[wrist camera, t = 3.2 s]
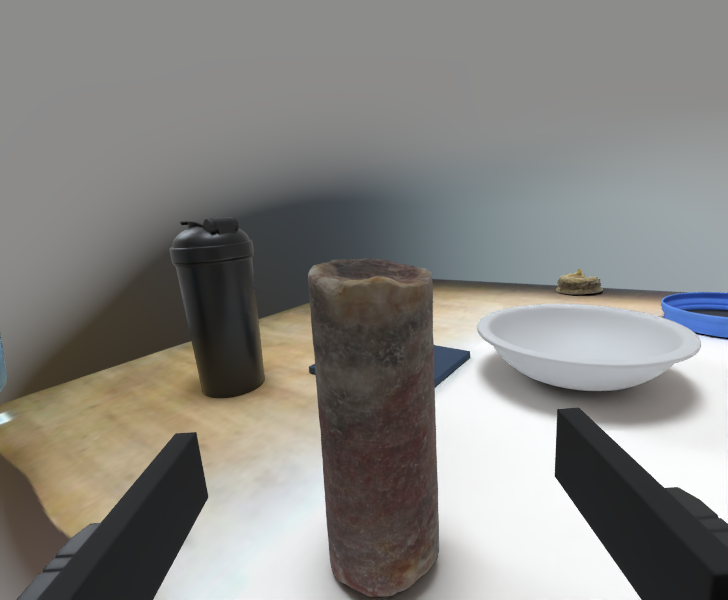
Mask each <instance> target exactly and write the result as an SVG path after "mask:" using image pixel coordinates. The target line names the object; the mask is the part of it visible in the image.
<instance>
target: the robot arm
mask: <svg viewBox="0 0 728 600" xmlns="http://www.w3.org/2000/svg"><path fill="white" fill-rule="evenodd" d="M6 382H7V375H6V367H5V360H4V354H3V348H2V343H1V335H0V391H1V390H2V389H3V388H4V387H5V385H6ZM555 477H556V479H557V480H558V481H559V483H560V484H561V486H562V487H563V488H564V490H565V491H566V493H567V494H568V496H569V497H570V498H571V500H572V501H573V503H574V504H575V506H576V507H577V508H578V510H579V511H580V513H581V514H582V515H583V517H584V518H585V520H586V521H587V523H588V524H589V525H590V527H591V528H592V530H593V531H594V533H595V534H596V535H597V537H598V538H599V540H600V541H601V542H602V544H603V545H604V547H605V548H606V550H607V551H608V552H609V554H610V555H611V557H612V558H613V560H614V561H615V562H616V564H617V565H618V567H619V568H620V570H621V571H622V572H623V574H624V575H625V577H626V578H627V579H628V581H629V582H630V584H631V585H632V587H633V588H634V589H635V591H636V592H637V594H638V595H639V597H640V598H641V599H642V600H728V524H727V523H726V522H725V521H724V520H722V519H721V518H720V519H719V518H718V515H717V514H716V513H714V512H713V511H712V510H711V509H710V508H709V507H708V506H706V505H705V504H704V503H703V502H702V501H701V500H699V499H698V498H696V497H694V496H692V495H691V494H689V493H687V492H685V491H683V490H682V489H680V488H678V487H674V488H664V487H663V486H662V485H660V484H659V483H658V482H657V481H656V480H655V479H654V478H653V477H652V476H651V475H650V474H649V473H648V472H647V471H646V470H645V469H643V468H642V467H641V466H640V465H639V464H638V463H637V462H636V461H635V460H634V459H633V458H632V457H631V456H630V455H629V454H628V453H626V452H625V451H624V450H623V449H622V448H621V447H620V446H619V445H618V444H617V443H616V442H615V441H614V440H613V439H612V438H611V437H609V436H608V435H607V434H606V433H605V432H604V431H603V430H602V429H601V428H600V427H599V426H598V425H597V424H596V423H595V422H594V421H592V420H591V419H590V418H589V417H588V416H587V415H586V414H585V413H584V412H583V411H582V410H581V409H580V408H568V409H557V434H556V458H555ZM207 499H208V493H207V487H206V482H205V477H204V471H203V466H202V461H201V455H200V450H199V445H198V439H197V434H196V432H194V433H178V434H175V435H174V436H173V437H172V439H171V440H170V441H169V442H168V443H167V444H166V446H165V447H164V448H163V449H162V450H161V452H160V453H159V454H158V455H157V456H156V458H155V459H154V460H153V461H152V462H151V464H150V465H149V466H148V467H147V468H146V470H145V471H144V472H143V473H142V474H141V476H140V477H139V478H138V479H137V480H136V482H135V483H134V484H133V485H132V486H131V488H130V489H129V490H128V491H127V492H126V493H125V495H124V496H123V497H122V498H121V499H120V501H119V502H118V503H117V504H116V505H115V507H114V508H113V509H112V510H111V511H110V513H109V514H108V515H107V516H106V517H105V519H104V520H103V521H102V522H101V523H94V524H89V525H88V526H87V527H85V528H84V529H83V530H81V531H80V532H79V533H77V534H76V535H75V536H73V537H72V538H71V539H70V540H69V541H68V542H67V543H66V544H65V546H64V547H63V548H62V549H61V550H60V551H59V552H58V553H57V555H56V557H55V559H52V560H51V561H50V562H49V564H48V565H47V566H46V567H45V568H44V570H43V572H42V573H40V574H39V575H38V576H37V577H36V578H35V579H34V580H33V582H32V583H31V584H30V585H29V586H28V587H27V588H26V589H25V591H24V592H23V593H22V594H21V595H20V596H19V597H18V598H17V600H153V599H154V597H155V595H156V593H157V591H158V589H159V587H160V586H161V584H162V582H163V580H164V578H165V576H166V575H167V573H168V571H169V569H170V567H171V565H172V563H173V562H174V560H175V558H176V556H177V554H178V552H179V550H180V549H181V547H182V545H183V543H184V541H185V539H186V538H187V536H188V534H189V532H190V530H191V528H192V526H193V525H194V523H195V521H196V519H197V517H198V515H199V513H200V512H201V510H202V508H203V506H204V504H205V502H206V501H207Z"/></svg>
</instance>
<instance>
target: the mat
mask: <svg viewBox="0 0 728 600" xmlns="http://www.w3.org/2000/svg"><path fill="white" fill-rule="evenodd" d="M469 358H470V351H465V350H459V349H453V348H447V347H441V346H436V345H434V387H435V386H436V385H438V384H439V383H440V382H441V381H442V380H444V379H445V378H446V377H447V376H448V375H450V374H451V373H452V372H453V371H454V370H456V369H457V368H458V367H459V366H460V365H461V364H463V363H464V362H465V361H466V360H467V359H469ZM309 371H310V373H312V374H316V373H315V364H314V365H312V366H309Z"/></svg>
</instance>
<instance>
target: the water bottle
mask: <svg viewBox="0 0 728 600" xmlns="http://www.w3.org/2000/svg"><path fill="white" fill-rule="evenodd" d="M180 223H181V225H188V229H187V230H185V231H183V232H182V233H180V234H179V235H178V236H177V237H176V238H175V239H174V241H173V245H172V247H171V248H170V255H171V259H172V262H173V265H174V266H176V270H177V275H178V279H179V284H180V289H181V293H182V298H183V303H184V307H185V312H186V316H187V321H188V326H189V331H190V336H191V340H192V345H193V350H194V354H195V359H196V364H197V368H198V373H199V378H200V382H201V387H202V392H203V393H204V394H205V395H206V396H209V397H214V398H226V397H233V396H238V395H242V394H245V393H248V392H250V391H252V390H254V389H256V388H258V387H259V386H260V385H262V383H263V382H264V380H265V377H264V368H263V358H262V349H261V340H260V330H259V321H258V312H257V302H256V292H255V283H254V274H253V264H252V257H253V253H254V250H253V243H252V240H249V238H248V236H247V234H246V233H245V232H243V231H242V230H240V229H238V222H237V220H236V219H235V218H234V217H223V218H210V219H206V220H198V221H185V222H180Z"/></svg>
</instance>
